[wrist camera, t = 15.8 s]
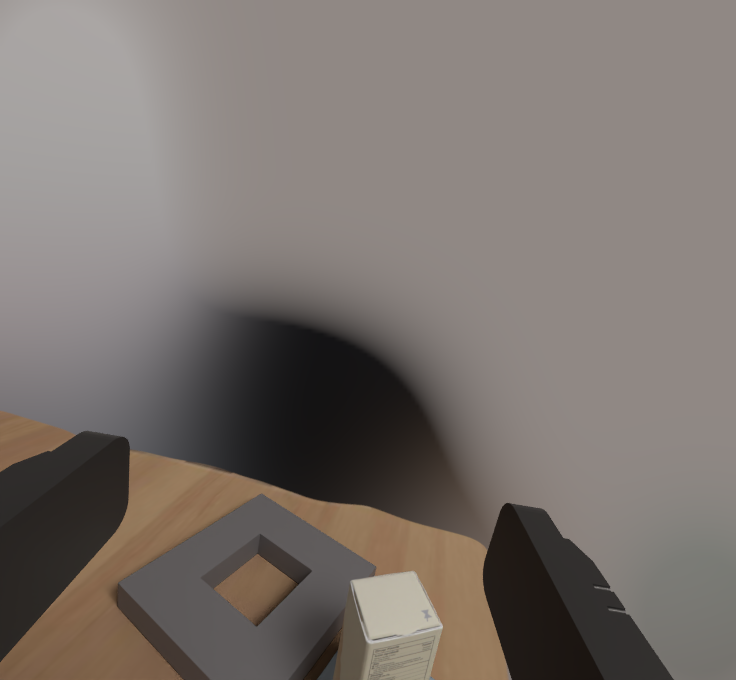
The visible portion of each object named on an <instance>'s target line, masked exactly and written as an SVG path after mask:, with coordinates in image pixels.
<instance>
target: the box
mask: <svg viewBox="0 0 736 680" xmlns="http://www.w3.org/2000/svg"><path fill="white" fill-rule="evenodd" d="M442 628H443V626H442V624H441V622H440V620H439V618H438V616H437V613H436V611H435V609H434V607H433V605H432V603H431V601H430V599H429V597H428V595H427V593H426V591H425V589H424V587H423V586H422V584H421V582H420V580H419V578H418V576H417V574H416V573H415V572H414V571H409V572H402V573H394V574H387V575H380V576H374V577H368V578H362V579H355V580H351V581H350V585H349V591H348V596H347V602H346V608H345V613H344V619H343V625H342V630H341V636H340V642H339V648H338V654H337V659H336V665H335V670H334V676H333V680H429V678H430V674H431V670H432V667H433V663H434V659H435V655H436V651H437V647H438V644H439V640H440V636H441V632H442Z"/></svg>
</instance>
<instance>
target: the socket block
mask: <svg viewBox="0 0 736 680" xmlns="http://www.w3.org/2000/svg"><path fill="white" fill-rule="evenodd" d="M257 553H258V554H259V555H260V556H262V557H263V558H264V559H266V560H267V561H268V562H270V563H271V564H272V565H274V566H275V567H277V568H278V569H279V570H281V571H282V572H283V573H285V574H286V575H287V576H289V577H290V578H291V579H293V580H294V581H295V582H297V583H298V584H299V585H298V586H297V587H296V588H295V589H294V590H293V591H292V592H291V593H290V594H289V595H288V596H287V597H286V598H285V599H284V600H283V601H282V602H281V603H280V604H279V605H278V606H277V607H276V608H275V609H274V610H273V611H272V612H271V613H270V614H269V615H268V616H267V617H266V618H265V619H264V620H263V621H262V622H261V623H260V624H259V625H258V626H257V627H256V626H255V625H254V624H253V623H252V622H251V621H249V620H248V619H247V618H246V617H245V616H244V615H242V614H241V613H240V612H239V611H238V610H237V609H236V608H234V607H233V606H232V605H231V604H230V603H229V602H228V601H226V600H225V599H224V598H223V597H222V596H221V595H220V594H218V593H217V592H216V591H215V590H214V589H213V588H215V587H216V586H217V585H218V584H220V583H221V582H222V581H223V580H225V579H226V578H227V577H228V576H230V575H231V574H232V573H234V572H235V571H236V570H237V569H239V568H240V567H241V566H242V565H244V564H245V563H246V562H247V561H249V560H250V559H251V558H252V557H254V556H255V555H256V554H257ZM375 571H376V566H374V565H373V564H371V563H370V562H368V561H367V560H365V559H363V558H362V557H360V556H359V555H357V554H356V553H354V552H352V551H351V550H349V549H348V548H346V547H345V546H343V545H341V544H340V543H338V542H337V541H335V540H334V539H332V538H331V537H329V536H327V535H326V534H324V533H323V532H321V531H320V530H318V529H316V528H315V527H313V526H312V525H310V524H309V523H307V522H305V521H304V520H302V519H301V518H299V517H298V516H296V515H294V514H293V513H291V512H290V511H288V510H287V509H285V508H283V507H282V506H280V505H279V504H277V503H276V502H274V501H272V500H271V499H269V498H268V497H266V496H265V495H263V494H260V495H258V496H257V497H255V498H253V499H252V500H250V501H249V502H247V503H245V504H244V505H242V506H241V507H239V508H237V509H236V510H234V511H233V512H231V513H229V514H228V515H226V516H225V517H223V518H221V519H220V520H218V521H217V522H215V523H213V524H212V525H210V526H209V527H207V528H205V529H204V530H202V531H200V532H199V533H197V534H196V535H194V536H192V537H191V538H189V539H188V540H186V541H184V542H183V543H181V544H180V545H178V546H176V547H175V548H173V549H172V550H170V551H168V552H167V553H165V554H164V555H162V556H160V557H159V558H157V559H156V560H154V561H152V562H151V563H149V564H147V565H146V566H144V567H143V568H141V569H139V570H138V571H136V572H135V573H133V574H131V575H130V576H128V577H127V578H125V579H123V580H122V581H120V582H119V583H118V608H119V609H120V610H121V611H122V612H123V613H124V614H125V615H126V616H127V618H128V619H129V620H130V621H131V622H132V623H133V624H134V625H135V626H136V627H137V629H138V630H139V631H140V632H141V633H142V634H143V635H144V636H145V637H146V638H147V640H148V641H149V642H150V643H151V644H152V645H153V646H154V647H155V648H156V649H157V651H158V652H159V653H160V654H161V655H162V656H163V657H164V658H165V659H166V660H167V662H168V663H169V664H170V665H171V666H172V667H173V668H174V669H175V670H176V671H177V673H178V674H179V675H180V676H181V677H182V678H183V679H184V680H303V679H304V678H305V676H306V675H307V674H308V672H309V671H310V670H311V668H312V667H313V666H314V664H315V663H316V662H317V660H318V659H319V658H320V656H321V655H322V653H323V652H324V651H325V649H326V648H327V647H328V645H329V644H330V643H331V641H332V640H333V639H334V637H335V636H336V635H337V633H338V632H339V631H340V629H341V628H342V625H343V619H344V613H345V608H346V602H347V596H348V591H349V585H350V581H351V580H355V579H362V578H368V577H374V575H375Z"/></svg>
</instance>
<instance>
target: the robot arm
mask: <svg viewBox="0 0 736 680" xmlns="http://www.w3.org/2000/svg"><path fill="white" fill-rule="evenodd" d="M129 456H130V446H129V442H128V440H127V439H126V438H125V437H120V436H114V435H108V434H103V433H97V432H90V431H84V432H81V433H79V434H78V435H76V436H75V437H73V438H72V439H70V440H68V441H67V442H65V443H64V444H62V445H61V446H59V447H58V448H56V449H55V450H53V451H52V452H51V451H47V452H44V453H41V454H39V455H36V456H33V457H31V458H28V459H26V460H23V461H20V462H18V463H15V464H13V465H11V466H9V467H8V468H6V469H5V470H3V471H1V472H0V662H1V661H2V659H3V658H4V657H5V656H6V655H7V654H8V653H9V652H10V650H11V649H12V648H13V647H14V646H15V645H16V644H17V642H18V641H19V640H20V639H21V638H22V637H23V636H24V635H25V633H26V632H27V631H28V630H29V629H30V628H31V627H32V626H33V624H34V623H35V622H36V621H37V620H38V619H39V618H40V617H41V615H42V614H43V613H44V612H45V611H46V610H47V609H48V608H49V606H50V605H51V604H52V603H53V602H54V601H55V600H56V599H57V597H58V596H59V595H60V594H61V593H62V592H63V591H64V590H65V588H66V587H67V586H68V585H69V584H70V583H71V582H72V580H73V579H74V578H75V577H76V576H77V575H78V574H79V573H80V571H81V570H82V569H83V568H84V567H85V566H86V565H87V564H88V562H89V561H90V560H91V559H92V558H93V557H94V556H95V555H96V553H97V552H98V551H99V550H100V549H101V548H102V547H103V546H104V544H105V543H106V542H107V541H108V540H109V539H110V538H111V537H112V535H113V534H114V533H115V532H116V530H117V529H118V527H119V526H120V524H121V522H122V520H123V518H124V515H125V512H126V509H127V505H128V494H129ZM483 585H484V591H485V595H486V599H487V602H488V605H489V608H490V611H491V615H492V618H493V621H494V624H495V627H496V630H497V634H498V637H499V640H500V643H501V646H502V650H503V653H504V656H505V659H506V662H507V665H508V669H509V672H510V675H511V678H512V680H674V679H673V678H672V677H671V675H670V674H669V672H668V671H667V669H666V668H665V666H664V665H663V663H662V662H661V660H660V659H659V657H658V656H657V655H656V653H655V652H654V650H653V649H652V648H651V646H650V644H649V643H648V641H647V640H646V639H645V637H644V635H643V634H642V633H641V631H640V630H639V628H638V627H637V625H636V624H635V622H634V621H633V619H632V618H631V616H630V615H627V614H626V613H625V608H624V606H623V605H622V603H621V602H620V601H619V599H618V597H617V596H616V595H615V593H614V592H611V591H610V586H609V584H608V583H607V581H606V580H605V578H604V577H603V576H602V574H601V573H600V571H599V570H598V568H597V567H596V565H595V564H594V562H593V561H592V560H591V559H590V558H589V557H587V555H585V554H584V553H583V552H582V551H581V550H580V549H579V548H578V547H577V546H576V545H575V544H574V543H573V542H571V541H570V540H569V539H565V538H563V537H562V535H561V534H560V532H559V531H558V529H557V528H556V526H555V525H554V523H553V521H552V520H551V518H550V517H549V515H548V514H547V512H546V511H545V510H543V509H540V508H534V507H528V506H522V505H516V504H510V503H506V504H505V505H504V506H503V507H502V509H501V511H500V514H499V517H498V520H497V523H496V526H495V529H494V533H493V536H492V539H491V542H490V545H489V548H488V551H487V555H486V558H485V561H484V568H483Z"/></svg>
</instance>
